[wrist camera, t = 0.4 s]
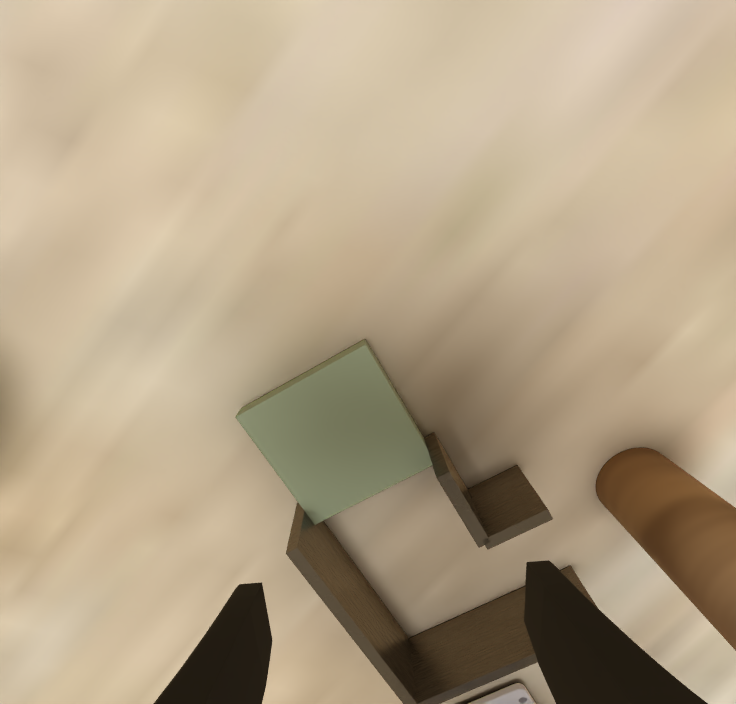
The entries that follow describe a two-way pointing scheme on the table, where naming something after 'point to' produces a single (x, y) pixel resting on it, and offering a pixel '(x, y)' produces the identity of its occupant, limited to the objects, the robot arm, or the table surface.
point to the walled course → (455, 637)
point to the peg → (677, 529)
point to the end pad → (337, 433)
